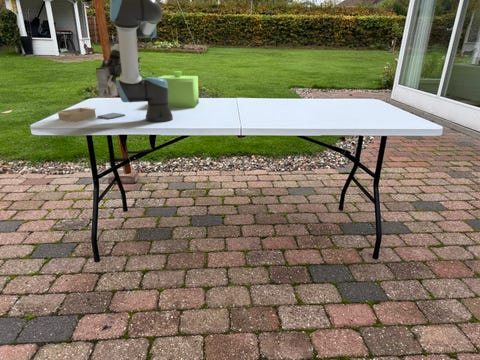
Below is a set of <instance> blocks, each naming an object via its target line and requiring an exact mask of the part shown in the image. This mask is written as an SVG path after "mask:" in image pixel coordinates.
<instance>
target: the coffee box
mask: <svg viewBox="0 0 480 360" xmlns="http://www.w3.org/2000/svg"><path fill="white" fill-rule="evenodd" d="M113 69H114V67H101V66H100V67H95V72H96V78H97V80H98V85H97V87H98V94H99V97H100V98H112V97H116V96H118V95H119V94H118V93H119V92H118V85H117V78H116V79H115V81H114V82H113V83H112V86H111V87H109V86H108V85H107V83H108V81H109V79H110V76H111V75H112V74H113Z"/></svg>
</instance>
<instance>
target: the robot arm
mask: <svg viewBox="0 0 480 360" xmlns="http://www.w3.org/2000/svg"><path fill="white" fill-rule="evenodd" d="M162 18H163V9H162V6H161V5H160V3H159V2H158V1H157V0H109V19H110V21H111V22H113V26H115V27H116V40H115V43H114V45H113V47H112V48H111V52H110V53H109V55H108V56H109V58H108V59H107V60H105V59H103V60H102V63H101V66H100V67H114V69H113V74H112V75H111V76H110V79H109V81H108V83H107V85H108V86H109V87H111V86H112V83H113V82H114V81H115V79H116V85H117V90H118V93H119V94H118V95H119V97H120V100H121V102H123V103H131V104H132V103H145V102H147V108H146V109H147V110H146V114H145V121H147V122H150V123H151V122H154V123H155V122H156V123H161V122H162V123H163V122H169V121H172V120H173V114H172V111H171V107H169V101H168V86H167V81H166V80H165V79H161V78H158V77H153V76H146V77H145V78H144V79H143V77H142V76H141V75H140V71H139V56H138V53H139V52H138V38H143V39H144V38H145V39H146V38H149V39H153V38H156V37H157V35H158V34H157V24H158V23H160V21H161V20H162ZM117 78H119V79H117ZM95 84H96V86H98V80H97V81H96V83H95Z"/></svg>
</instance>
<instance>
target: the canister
mask: <svg viewBox="0 0 480 360" xmlns="http://www.w3.org/2000/svg"><path fill="white" fill-rule="evenodd" d="M172 74H173V75H161V76H158V77H157V78H161V79H165V80H166V81H167V86H168V101H169V108H170V109H172V108H174V109H175V108H176V109H180V108H182V109H183V108H184V109H191V108H192V109H195V108H196V106H198V104H199V103H200V102H199V101H200V99H199V96H200V95H199V76H198V75H182V74H183V73H182V71H181V70H180V71H178V70H177V71H176V70H174V71H172Z"/></svg>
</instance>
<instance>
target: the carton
mask: <svg viewBox="0 0 480 360" xmlns="http://www.w3.org/2000/svg"><path fill="white" fill-rule="evenodd" d="M96 110H97V108H96V107H88V106H86V107H76V108H70V109H66V110H58V111H57V112H55V114H58V120H61V121H65V122H71V123H75V122H79V121H84V119H85V120H88V119H89V118H90V119H94V118H96V117H97V115H96ZM90 119H89V120H90Z"/></svg>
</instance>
